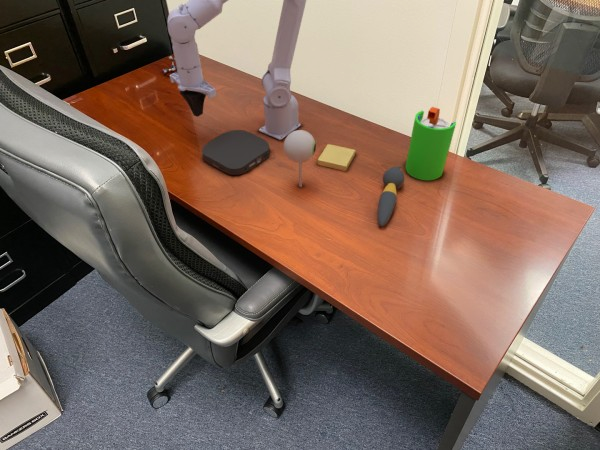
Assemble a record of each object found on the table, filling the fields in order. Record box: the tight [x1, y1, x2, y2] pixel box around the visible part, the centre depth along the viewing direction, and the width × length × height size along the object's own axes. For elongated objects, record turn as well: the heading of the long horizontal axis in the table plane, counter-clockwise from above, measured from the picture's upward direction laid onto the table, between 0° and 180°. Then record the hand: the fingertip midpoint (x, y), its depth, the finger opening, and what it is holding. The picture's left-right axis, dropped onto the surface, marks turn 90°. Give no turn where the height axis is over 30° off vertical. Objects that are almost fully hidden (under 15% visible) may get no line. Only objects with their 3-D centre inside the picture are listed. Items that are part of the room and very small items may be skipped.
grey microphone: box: [377, 166, 405, 227], centre depth 100 cm, size 20×5×5 cm, turn 167°
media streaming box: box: [201, 129, 271, 176], centre depth 114 cm, size 15×15×3 cm
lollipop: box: [283, 129, 317, 188], centre depth 101 cm, size 7×7×15 cm
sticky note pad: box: [317, 143, 356, 172], centre depth 113 cm, size 8×8×2 cm
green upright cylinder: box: [405, 106, 457, 181], centre depth 103 cm, size 9×8×18 cm
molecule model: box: [162, 55, 178, 74], centre depth 146 cm, size 6×12×8 cm, turn 41°
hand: (198, 114), depth 115 cm, fingers closed
